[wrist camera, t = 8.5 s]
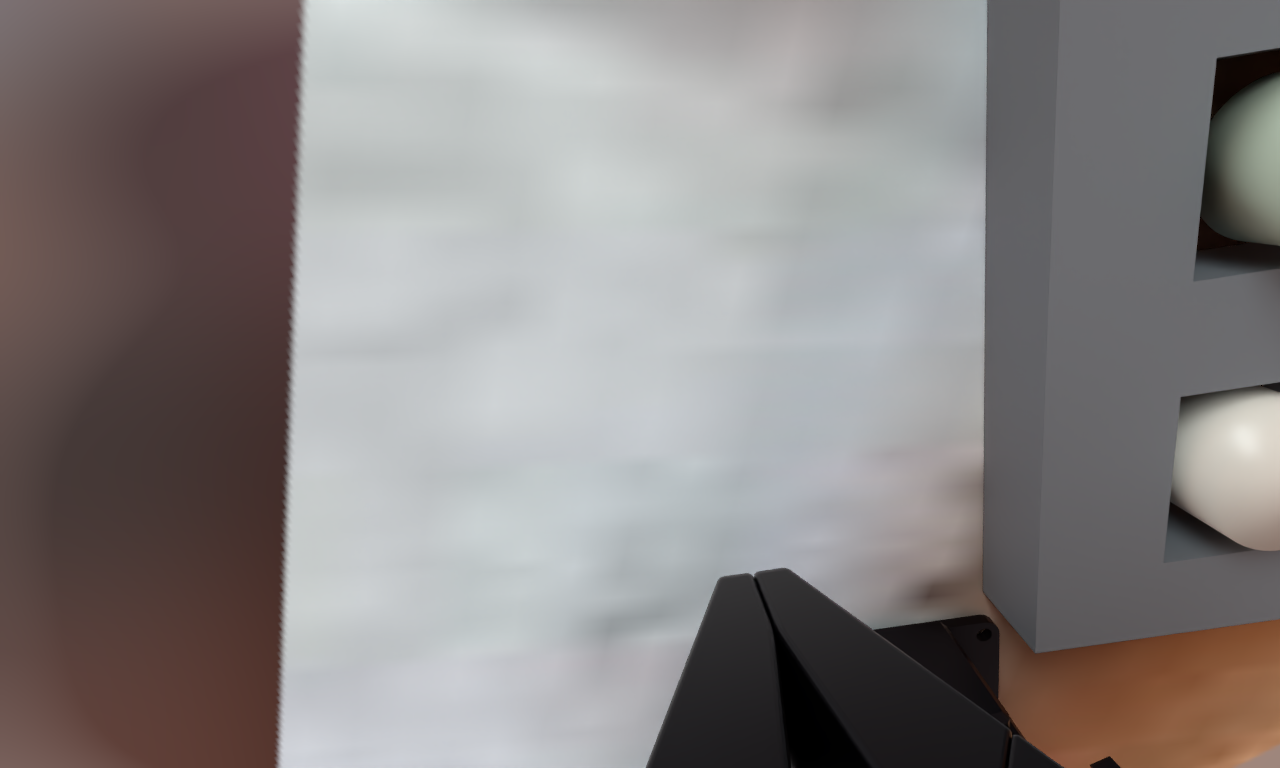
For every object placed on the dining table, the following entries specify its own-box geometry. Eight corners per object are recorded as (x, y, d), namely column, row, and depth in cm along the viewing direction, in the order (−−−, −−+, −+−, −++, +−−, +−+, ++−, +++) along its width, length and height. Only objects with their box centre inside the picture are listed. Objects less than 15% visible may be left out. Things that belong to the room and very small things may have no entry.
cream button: (1256, 487, 21) (1358, 539, 18) (1125, 506, 21) (1205, 560, 18) (1274, 364, 19) (1387, 398, 16) (1135, 385, 19) (1224, 423, 17)
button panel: (1345, 539, 22) (1452, 594, 19) (982, 591, 22) (1035, 653, 20) (1561, -529, 14) (1799, -706, 11) (991, -425, 14) (1082, -571, 12)
